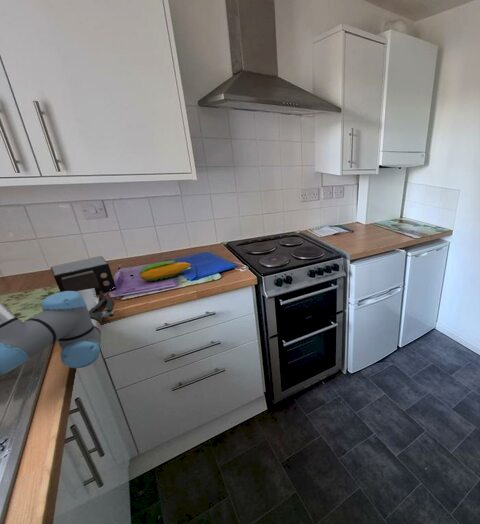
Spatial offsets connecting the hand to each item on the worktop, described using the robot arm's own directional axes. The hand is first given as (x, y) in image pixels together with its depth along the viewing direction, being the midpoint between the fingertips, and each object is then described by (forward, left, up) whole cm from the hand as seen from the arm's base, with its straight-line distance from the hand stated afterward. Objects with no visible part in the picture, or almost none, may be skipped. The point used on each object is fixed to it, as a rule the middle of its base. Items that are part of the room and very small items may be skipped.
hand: (89, 297), depth 105 cm
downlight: (+4, -7, -5) cm, 9 cm away
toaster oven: (-12, +17, -6) cm, 22 cm away
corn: (+14, +27, -6) cm, 31 cm away
